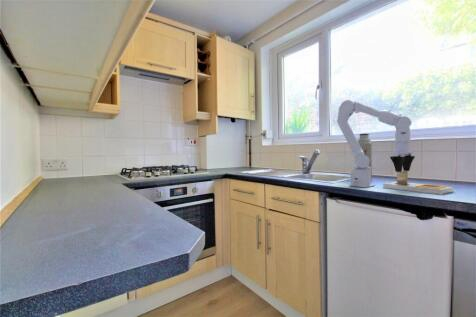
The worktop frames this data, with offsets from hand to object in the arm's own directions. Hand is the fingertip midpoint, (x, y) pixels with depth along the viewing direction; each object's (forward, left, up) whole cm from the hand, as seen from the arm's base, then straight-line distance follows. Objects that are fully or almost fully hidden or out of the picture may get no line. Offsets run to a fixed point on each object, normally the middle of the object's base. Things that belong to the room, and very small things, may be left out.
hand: (402, 171), depth 109 cm
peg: (0, 0, -8) cm, 8 cm away
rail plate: (0, -5, -8) cm, 10 cm away
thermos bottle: (+14, +27, -8) cm, 31 cm away
